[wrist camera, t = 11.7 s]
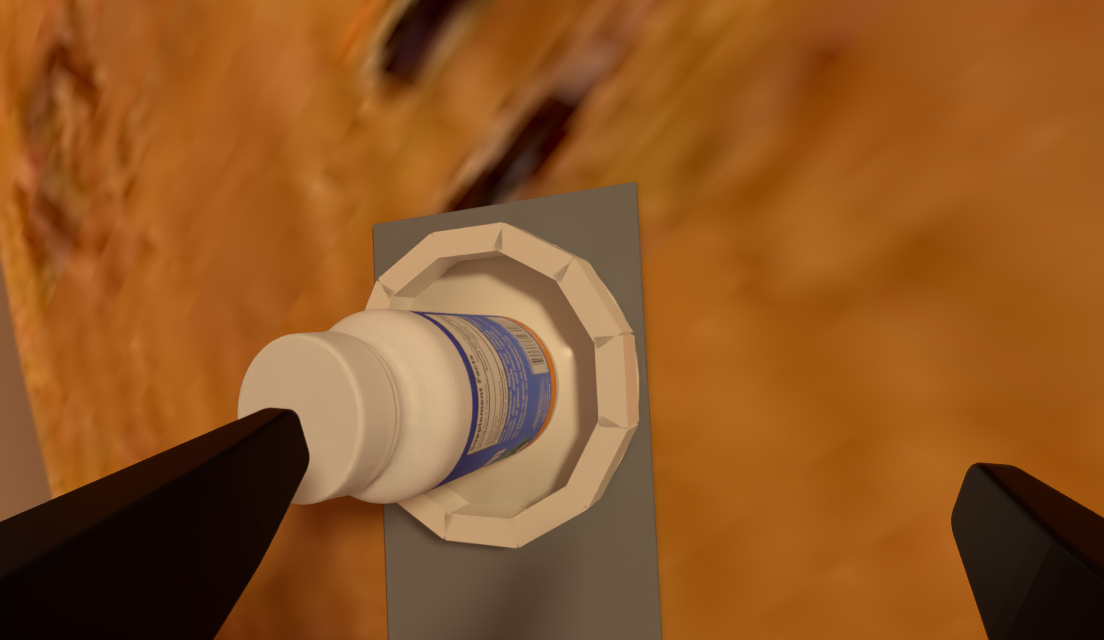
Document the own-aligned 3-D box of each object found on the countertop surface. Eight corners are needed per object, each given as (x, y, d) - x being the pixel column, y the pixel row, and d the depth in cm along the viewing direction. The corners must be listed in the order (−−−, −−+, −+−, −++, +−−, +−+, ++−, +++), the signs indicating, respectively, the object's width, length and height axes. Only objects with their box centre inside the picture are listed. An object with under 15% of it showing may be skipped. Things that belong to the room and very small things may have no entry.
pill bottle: (444, 450, 23) (215, 529, 14) (439, 317, 23) (210, 312, 14) (567, 457, 21) (389, 555, 12) (561, 309, 21) (380, 297, 12)
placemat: (668, 748, 20) (667, 752, 20) (393, 681, 25) (390, 684, 24) (636, 183, 21) (635, 182, 20) (376, 225, 25) (372, 224, 25)
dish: (649, 541, 20) (635, 561, 18) (387, 515, 25) (356, 530, 23) (631, 216, 20) (615, 205, 19) (377, 251, 25) (345, 245, 23)
